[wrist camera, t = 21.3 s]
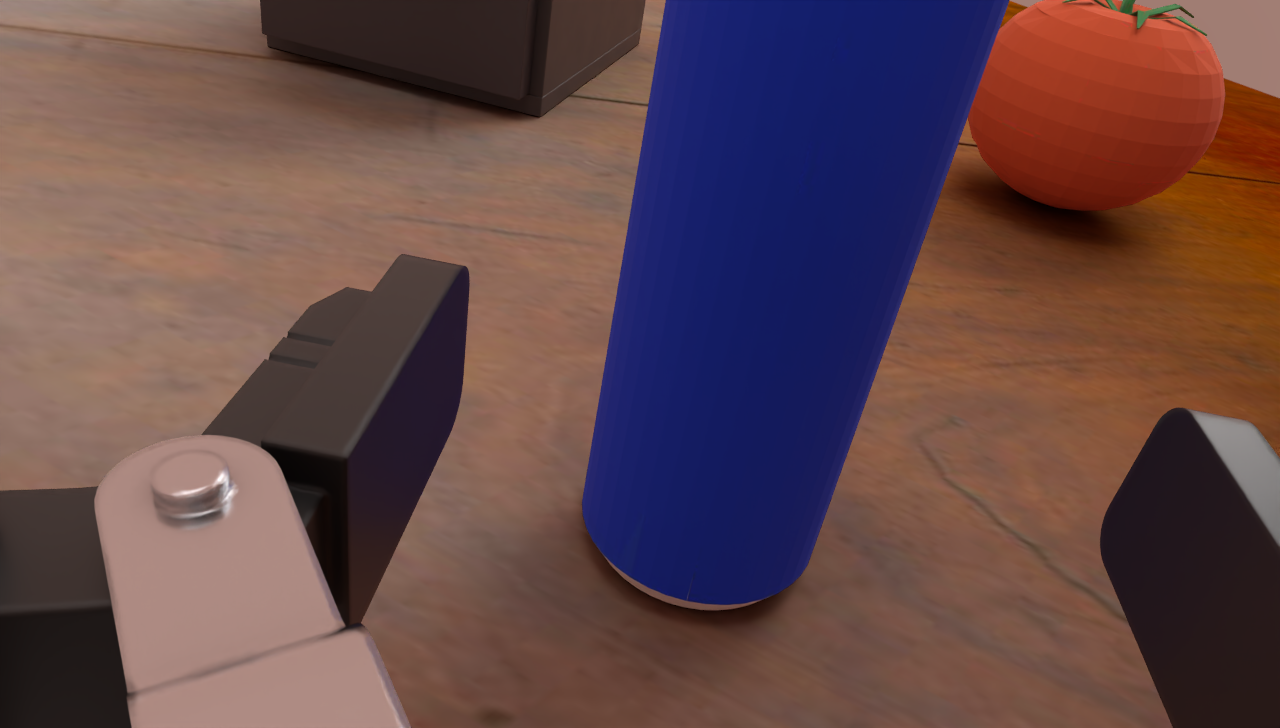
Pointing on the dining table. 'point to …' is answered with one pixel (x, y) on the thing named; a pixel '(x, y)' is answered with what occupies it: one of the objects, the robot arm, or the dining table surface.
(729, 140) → the beverage can
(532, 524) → the dining table surface
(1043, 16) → the tomato
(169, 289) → the dining table surface
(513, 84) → the drawer with bar handle
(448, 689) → the dining table surface
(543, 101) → the small drawer unit
